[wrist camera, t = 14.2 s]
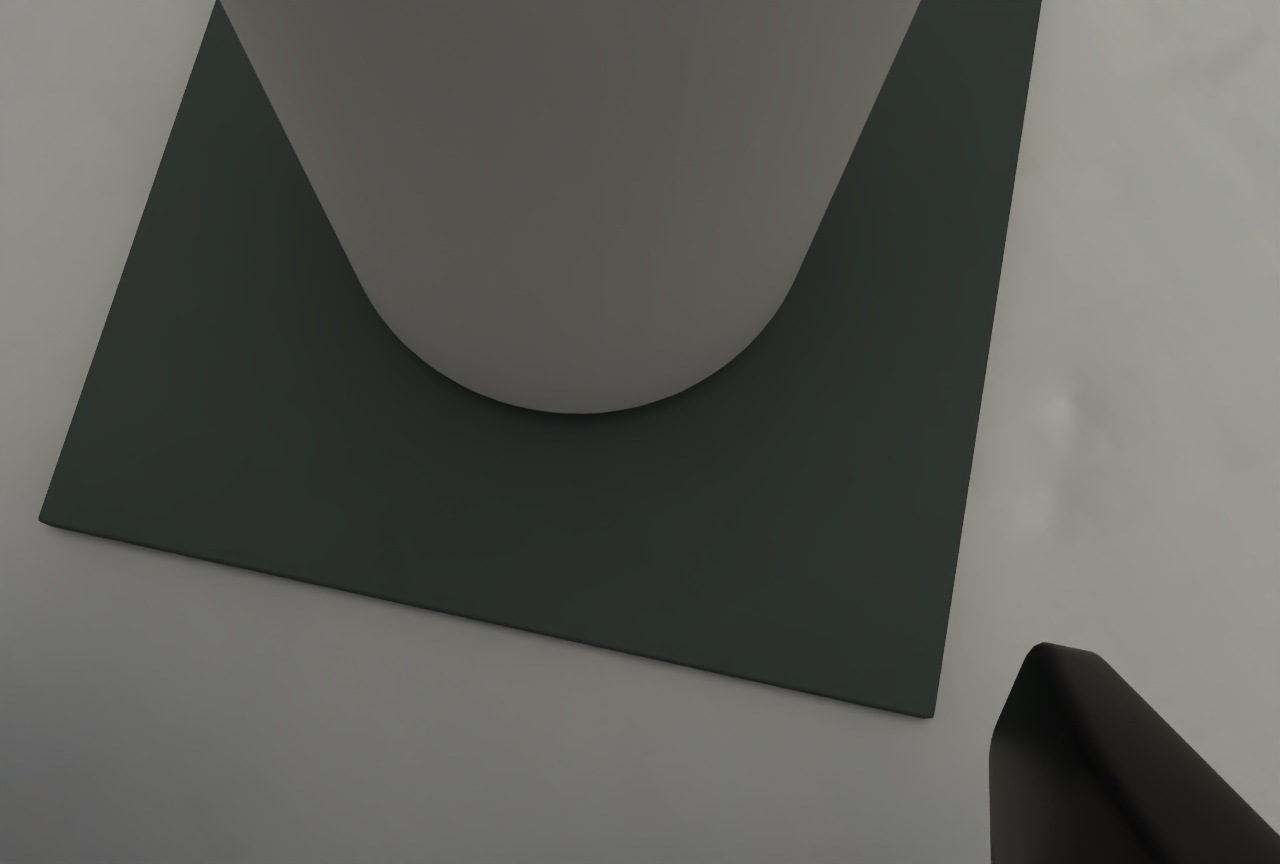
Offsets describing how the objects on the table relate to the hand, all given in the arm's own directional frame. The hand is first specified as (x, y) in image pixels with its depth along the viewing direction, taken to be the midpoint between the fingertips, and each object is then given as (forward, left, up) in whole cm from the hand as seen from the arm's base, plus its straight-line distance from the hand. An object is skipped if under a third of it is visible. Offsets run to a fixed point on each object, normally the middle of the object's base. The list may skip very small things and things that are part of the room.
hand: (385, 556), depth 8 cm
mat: (-1, +6, -8) cm, 10 cm away
